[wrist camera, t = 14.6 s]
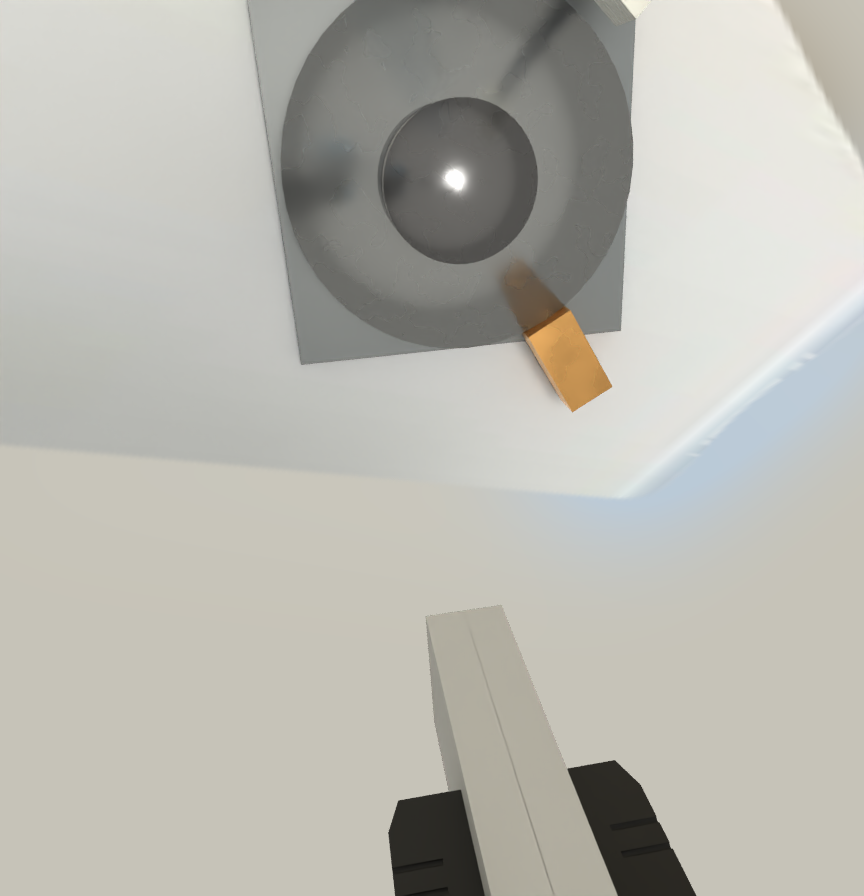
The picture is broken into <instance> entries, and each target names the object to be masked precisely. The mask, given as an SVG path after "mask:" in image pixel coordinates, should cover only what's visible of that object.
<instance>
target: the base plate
mask: <svg viewBox="0 0 864 896" xmlns="http://www.w3.org/2000/svg"><path fill="white" fill-rule="evenodd" d="M247 1H248V8H249V14H250V21H251V28H252V35H253V41H254V48H255V55H256V62H257V68H258V75H259V82H260V89H261V95H262V102H263V109H264V116H265V122H266V129H267V136H268V142H269V149H270V156H271V163H272V169H273V176H274V183H275V190H276V196H277V203H278V210H279V217H280V223H281V230H282V237H283V243H284V250H285V257H286V264H287V270H288V277H289V284H290V291H291V297H292V304H293V311H294V318H295V324H296V331H297V338H298V344H299V351H300V358H301V365H304V364H313V363H323V362H332V361H341V360H351V359H360V358H369V357H379V356H388V355H398V354H407V353H416V352H426V351H435V350H445V349H454V348H439V347H430V346H423V345H419V344H415V343H411V342H407V341H403V340H401V339H398V338H396V337H393V336H391V335H388V334H386V333H383V332H382V331H380V330H378V329H376V328H374V327H373V326H371V325H369V324H367V323H365V322H364V321H363V320H361V319H360V318H359V317H357V316H356V315H354V314H353V313H352V312H350V311H349V310H348V309H347V308H346V307H345V306H344V305H342V304H341V303H340V302H339V301H338V300H337V299H336V298H335V297H334V296H333V295H332V294H331V293H330V292H329V290H328V289H327V288H326V287H325V285H324V284H323V283H322V282H321V280H320V279H319V278H318V277H317V275H316V274H315V272H314V271H313V269H312V267H311V266H310V264H309V262H308V261H307V259H306V258H305V256H304V254H303V252H302V250H301V247H300V245H299V243H298V241H297V239H296V236H295V234H294V231H293V228H292V225H291V222H290V219H289V216H288V212H287V209H286V203H285V198H284V192H283V187H282V174H281V146H282V132H283V127H284V122H285V116H286V111H287V106H288V103H289V100H290V97H291V94H292V91H293V88H294V85H295V82H296V80H297V78H298V75H299V73H300V71H301V69H302V67H303V65H304V63H305V61H306V59H307V57H308V55H309V54H310V52H311V51H312V49H313V48H314V46H315V45H316V43H317V42H318V40H319V39H320V37H321V35H322V34H323V33H324V32H325V31H326V29H327V28H328V27H329V26H330V25H331V24H332V23H333V21H334V20H335V19H336V18H337V17H338V16H339V15H340V13H342V12H343V11H344V10H345V9H346V8H347V7H349V6H350V5H351V4H352V3H353V2H355V1H356V0H247ZM564 1H566V2H567V3H568V4H569V5H570V6H572V7H573V8H574V9H575V10H576V11H577V12H578V13H579V15H580V16H581V17H582V18H583V19H584V20H585V21H586V22H587V23H588V24H589V25H590V26H591V28H592V29H593V31H594V32H595V34H596V35H597V36H598V38H599V39H600V41H601V42H602V44H603V45H604V46H605V48H606V50H607V52H608V54H609V56H610V58H611V60H612V62H613V64H614V66H615V68H616V70H617V72H618V75H619V78H620V81H621V83H622V86H623V89H624V92H625V96H626V100H627V104H628V109H629V113H630V118H631V103H632V82H633V61H634V40H635V20H632V21H629V22H627V23H624V24H621V25H618V26H615V25H614V24H613V22H612V21H611V20H610V19H609V18H608V16H607V15H606V14H605V13H604V12H603V10H602V9H601V8H600V7H599V6H598V4H597V3H596V2H595V1H594V0H564ZM626 208H627V203H626V207H625V211H624V214H623V217H622V220H621V223H620V225H619V228H618V231H617V233H616V236H615V238H614V240H613V242H612V244H611V246H610V248H609V250H608V252H607V254H606V256H605V257H604V259H603V260H602V262H601V263H600V265H599V266H598V268H597V269H596V271H595V273H594V274H593V275H592V277H591V278H590V279H589V280H588V281H587V283H586V284H585V285H584V286H583V287H582V289H581V290H580V291H579V292H578V293H577V294H576V295H575V296H574V297H573V298H572V299H571V300H570V301H569V302H568V303H567V304H566V305H565V307H567V308H568V309H570V310H571V312H572V314H573V316H574V317H575V319H576V321H577V323H578V325H579V327H580V328H581V330H582V332H583V334H584V335H585V334H595V333H604V332H613V331H621V314H622V293H623V272H624V251H625V230H626ZM520 341H526V340H525V338H524V337H523V335H522V333H521V334H518V335H516V336H513V337H511V338H509V339H506V340H502V341H499V342H495V343H492V344H501V343H510V342H520ZM488 345H491V344H488Z"/></svg>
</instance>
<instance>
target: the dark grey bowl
mask: <svg viewBox="0 0 864 896" xmlns="http://www.w3.org/2000/svg"><path fill="white" fill-rule="evenodd" d="M377 179H378V191H379V196H380V200H381V203H382V206H383V209H384V211H385V213H386V215H387V217H388V219H389V220H390V222H391V223H392V225H393V226H394V227H395V229H396V230H397V231H398V232H399V234H400V235H401V236H402V237H403V238H404V239H405V240H406V241H407V242H408V243H409V244H410V245H411V246H412V247H413V248H414V249H416V250H417V251H418V252H420V253H421V254H423V255H425V256H427V257H429V258H431V259H433V260H436V261H439V262H443V263H449V264H469V263H475V262H478V261H481V260H485V259H487V258H489V257H491V256H493V255H495V254H497V253H498V252H500V251H502V250H503V249H504V248H505V247H507V246H508V245H509V244H510V243H511V242H512V241H513V240H514V239H515V238H516V237H517V236H518V234H519V233H520V232H521V230H522V229H523V228H524V226H525V224H526V222H527V221H528V219H529V216H530V214H531V212H532V210H533V206H534V203H535V199H536V194H537V187H538V171H537V163H536V158H535V154H534V151H533V148H532V145H531V143H530V141H529V139H528V137H527V135H526V133H525V132H524V130H523V129H522V127H521V126H520V125H519V124H518V122H517V121H516V120H515V119H514V118H513V117H512V116H511V115H510V114H508V113H507V112H506V111H504V110H503V109H501V108H500V107H498V106H497V105H494V104H492V103H490V102H488V101H485V100H481V99H478V98H471V97H454V98H448V99H444V100H440V101H436V102H433V103H429V104H426V105H424V106H422V107H419V108H417V109H415V110H414V111H412V112H411V113H409V114H408V115H407V116H406V117H404V118H403V119H402V120H401V121H400V122H399V123H398V124H397V125H396V127H395V128H394V129H393V131H392V132H391V134H390V135H389V137H388V138H387V140H386V142H385V144H384V147H383V150H382V152H381V155H380V160H379V164H378V174H377Z"/></svg>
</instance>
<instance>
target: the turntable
mask: <svg viewBox="0 0 864 896" xmlns="http://www.w3.org/2000/svg"><path fill="white" fill-rule="evenodd" d="M454 97H471V98H478V99H481V100H485V101H488V102H490V103H492V104H494V105H497V106H498V107H500V108H501V109H503V110H504V111H506V112H507V113H508V114H510V115H511V116H512V117H513V118H514V119H515V120H516V121H517V122H518V124H519V125H520V126H521V127H522V129H523V130H524V132H525V133H526V135H527V137H528V139H529V141H530V143H531V145H532V148H533V151H534V154H535V158H536V163H537V171H538V187H537V194H536V199H535V203H534V206H533V210H532V212H531V214H530V216H529V219H528V221H527V222H526V224H525V226H524V228H523V229H522V230H521V232H520V233H519V234H518V236H517V237H516V238H515V239H514V240H513V241H512V242H511V243H510V244H509V245H508V246H507V247H505V248H504V249H503V250H502V251H500V252H498V253H497V254H495V255H493V256H491V257H489V258H487V259H485V260H481V261H478V262H475V263H469V264H449V263H443V262H439V261H436V260H433V259H431V258H429V257H427V256H425V255H423V254H421V253H420V252H418V251H417V250H416V249H414V248H413V247H412V246H411V245H410V244H409V243H408V242H407V241H406V240H405V239H404V238H403V237H402V236H401V235H400V234H399V232H398V231H397V230H396V229H395V227H394V226H393V225H392V223H391V222H390V220H389V219H388V217H387V215H386V213H385V211H384V209H383V206H382V203H381V200H380V196H379V191H378V179H377V174H378V164H379V160H380V155H381V152H382V150H383V147H384V144H385V142H386V140H387V138H388V137H389V135H390V134H391V132H392V131H393V129H394V128H395V127H396V125H397V124H398V123H399V122H400V121H401V120H402V119H403V118H404V117H406V116H407V115H408V114H409V113H411V112H412V111H414V110H415V109H417V108H419V107H422V106H424V105H426V104H429V103H433V102H436V101H440V100H444V99H448V98H454ZM632 168H633V137H632V127H631V118H630V113H629V109H628V104H627V100H626V96H625V92H624V89H623V86H622V83H621V81H620V78H619V75H618V72H617V70H616V68H615V66H614V64H613V62H612V60H611V58H610V56H609V54H608V52H607V50H606V48H605V46H604V45H603V44H602V42H601V41H600V39H599V38H598V36H597V35H596V34H595V32H594V31H593V29H592V28H591V26H590V25H589V24H588V23H587V22H586V21H585V20H584V19H583V18H582V17H581V16H580V15H579V13H578V12H577V11H576V10H575V9H574V8H573V7H572V6H570V5H569V4H568V3H567V2H566V1H564V0H356V1H355V2H353V3H352V4H351V5H350V6H349V7H347V8H346V9H345V10H344V11H343V12H342V13H340V15H339V16H338V17H337V18H336V19H335V20H334V21H333V23H332V24H331V25H330V26H329V27H328V28H327V29H326V31H325V32H324V33H323V34H322V35H321V37H320V39H319V40H318V42H317V43H316V45H315V46H314V48H313V49H312V51H311V52H310V54H309V55H308V57H307V59H306V61H305V63H304V65H303V67H302V69H301V71H300V73H299V75H298V78H297V80H296V82H295V85H294V88H293V91H292V94H291V97H290V100H289V103H288V106H287V111H286V116H285V122H284V127H283V132H282V146H281V174H282V187H283V192H284V198H285V203H286V209H287V212H288V216H289V219H290V222H291V225H292V228H293V231H294V234H295V236H296V239H297V241H298V243H299V245H300V247H301V250H302V252H303V254H304V256H305V258H306V259H307V261H308V262H309V264H310V266H311V267H312V269H313V271H314V272H315V274H316V275H317V277H318V278H319V279H320V280H321V282H322V283H323V284H324V285H325V287H326V288H327V289H328V290H329V292H330V293H331V294H332V295H333V296H334V297H335V298H336V299H337V300H338V301H339V302H340V303H341V304H342V305H344V306H345V307H346V308H347V309H348V310H349V311H350V312H352V313H353V314H354V315H356V316H357V317H359V318H360V319H361V320H363V321H364V322H365V323H367V324H369V325H371V326H373V327H374V328H376V329H378V330H380V331H382V332H383V333H386V334H388V335H391V336H393V337H396V338H398V339H401V340H403V341H407V342H411V343H415V344H419V345H423V346H430V347H439V348H469V347H475V346H482V345H488V344H492V343H495V342H499V341H502V340H506V339H509V338H511V337H513V336H516V335H518V334H521V333H522V335H523V337H524V338H525V340H526V342H527V343H528V345H529V347H530V348H531V350H532V352H533V353H534V355H535V357H536V359H537V360H538V362H539V364H540V365H541V367H542V369H543V370H544V372H545V374H546V375H547V377H548V379H549V380H550V382H551V384H552V386H553V387H554V389H555V391H556V392H557V394H558V396H559V397H560V399H561V400H562V401H563V403H564V404H565V405H566V406H567V407H568V408H569V409H570V410H571V411H572V412H574V411H575V410H577V409H578V408H580V407H581V406H583V405H585V404H586V403H588V402H589V401H591V400H592V399H594V398H595V397H597V396H599V395H600V394H602V393H603V392H605V391H606V390H608V389H610V388H611V387H612V385H611V383H610V382H609V380H608V378H607V376H606V374H605V372H604V371H603V369H602V367H601V365H600V363H599V361H598V360H597V358H596V356H595V354H594V352H593V350H592V349H591V347H590V345H589V343H588V341H587V339H586V338H585V336H584V334H583V332H582V330H581V328H580V327H579V325H578V323H577V321H576V319H575V317H574V316H573V314H572V312H571V310H570V309H568V308H567V307H565V305H566V304H567V303H568V302H569V301H570V300H571V299H572V298H573V297H574V296H575V295H576V294H577V293H578V292H579V291H580V290H581V289H582V287H583V286H584V285H585V284H586V283H587V281H588V280H589V279H590V278H591V277H592V275H593V274H594V273H595V271H596V269H597V268H598V266H599V265H600V263H601V262H602V260H603V259H604V257H605V256H606V254H607V252H608V250H609V248H610V246H611V244H612V242H613V240H614V238H615V236H616V233H617V231H618V228H619V225H620V223H621V220H622V217H623V214H624V211H625V207H626V203H627V199H628V195H629V191H630V183H631V176H632Z"/></svg>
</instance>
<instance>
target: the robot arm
mask: <svg viewBox="0 0 864 896" xmlns="http://www.w3.org/2000/svg"><path fill="white" fill-rule="evenodd" d="M426 625H427V637H428V649H429V662H430V673H431V686H432V699H433V711H434V722H435V727H436V732H437V736H438V742H439V746H440V751H441V756H442V761H443V766H444V771H445V775H446V780H447V785H448V790H449V792H445V793H439V794H433V795H427V796H422V797H416V798H410V799H405V800H400V801H398V804H397V807H396V810H395V813H394V816H393V820H392V823H391V826H390V829H389V833H388V834H389V843H390V851H391V860H392V870H393V880H394V889H395V896H696V894H695V892H694V890H693V888H692V886H691V884H690V882H689V880H688V878H687V876H686V874H685V872H684V870H683V868H682V867H681V864H680V862H679V861H678V858H677V857H676V854H675V853H674V850H673V849H671V847H670V844H669V840H668V839H667V836H666V834H665V832H664V831H663V829H662V827H661V825H660V823H659V822H658V821H657V818H656V815H655V813H654V811H653V809H652V807H651V805H650V803H649V801H648V799H647V797H646V795H645V793H644V791H643V789H642V787H641V785H640V784H639V783H638V782H637V781H636V780H635V779H634V778H633V777H632V776H631V775H630V774H629V773H628V772H627V771H625V770H624V769H623V768H622V767H621V766H620V765H619V764H618V763H617V762H616V761H615V760H613V761H608V762H603V763H597V764H592V765H585V766H580V767H574V768H568V769H567V768H566V765H565V763H564V760H563V758H562V755H561V753H560V750H559V748H558V745H557V743H556V740H555V738H554V735H553V733H552V730H551V728H550V725H549V723H548V720H547V718H546V715H545V713H544V710H543V708H542V705H541V703H540V700H539V698H538V695H537V693H536V690H535V688H534V685H533V683H532V680H531V678H530V675H529V673H528V670H527V668H526V665H525V663H524V660H523V658H522V655H521V652H520V650H519V648H518V645H517V643H516V640H515V638H514V635H513V632H512V630H511V627H510V625H509V622H508V620H507V617H506V615H505V612H504V610H503V608H502V606H501V605H498V606H491V607H484V608H477V609H470V610H464V611H457V612H450V613H444V614H437V615H430V616H426Z"/></svg>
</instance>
